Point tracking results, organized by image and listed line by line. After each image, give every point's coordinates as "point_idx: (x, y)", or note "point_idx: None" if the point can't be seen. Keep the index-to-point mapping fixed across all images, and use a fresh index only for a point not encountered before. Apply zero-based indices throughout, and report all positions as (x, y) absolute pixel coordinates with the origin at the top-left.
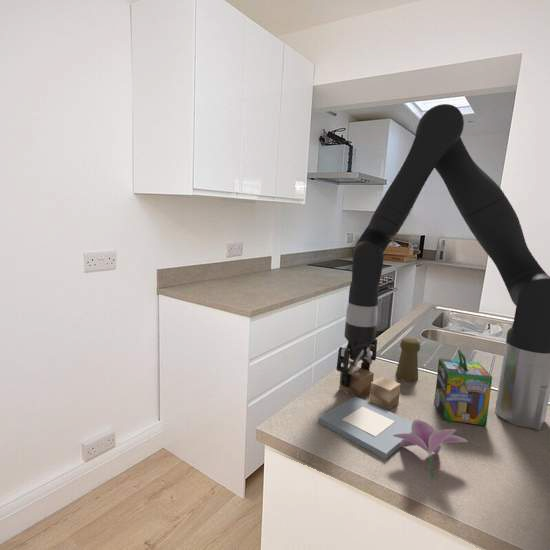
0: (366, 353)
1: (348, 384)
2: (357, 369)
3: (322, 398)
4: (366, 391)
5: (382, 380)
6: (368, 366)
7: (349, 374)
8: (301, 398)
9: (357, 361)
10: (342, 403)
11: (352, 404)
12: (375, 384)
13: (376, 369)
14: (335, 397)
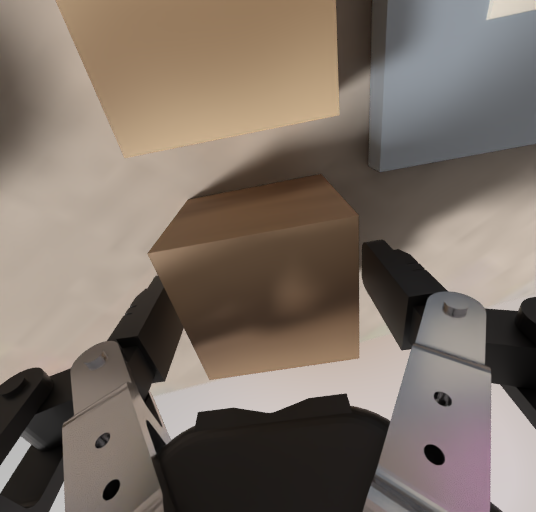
0: (171, 510)
1: (391, 249)
2: (233, 337)
3: (461, 260)
4: (250, 192)
5: (182, 77)
6: (140, 329)
7: (434, 294)
8: (519, 296)
9: (424, 398)
10: (520, 145)
11: (495, 97)
12: (334, 49)
13: (19, 334)
14: (410, 239)
